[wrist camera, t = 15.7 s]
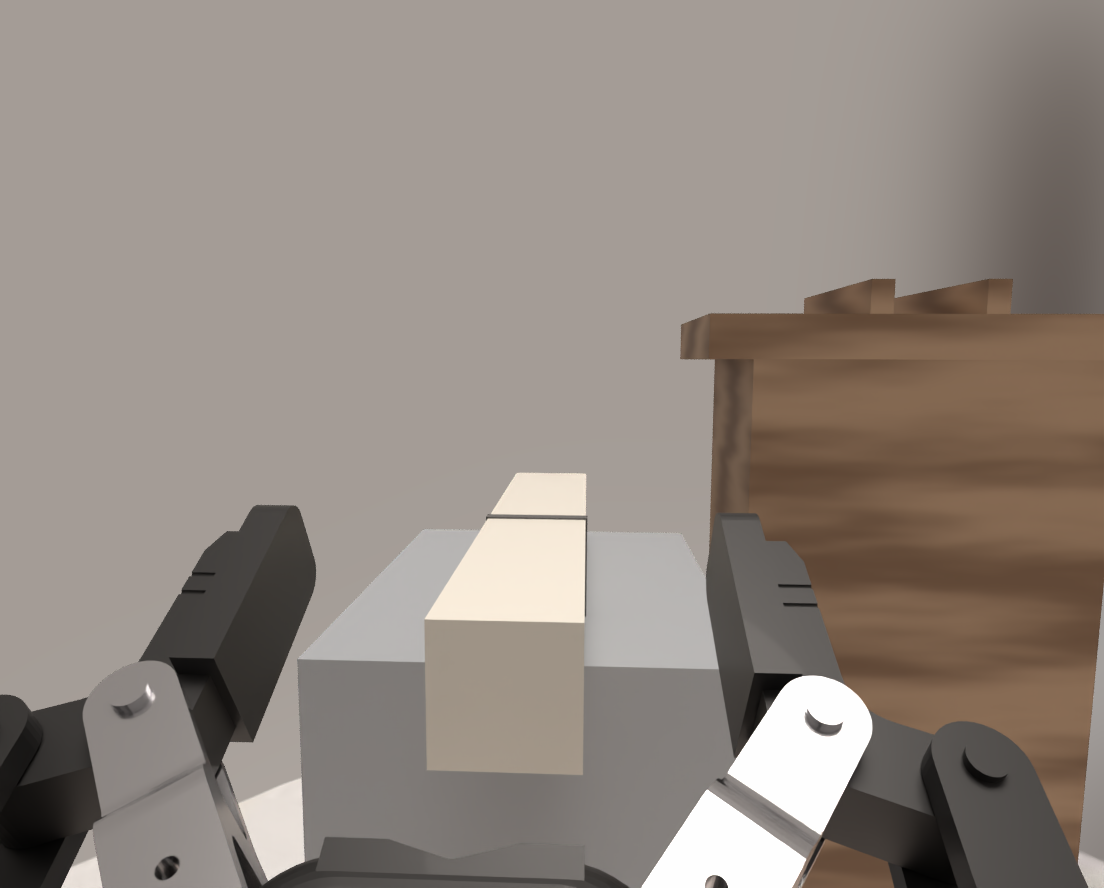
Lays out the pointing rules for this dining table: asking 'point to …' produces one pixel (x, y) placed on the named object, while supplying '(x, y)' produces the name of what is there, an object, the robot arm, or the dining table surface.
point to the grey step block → (521, 798)
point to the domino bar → (513, 638)
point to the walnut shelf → (930, 507)
